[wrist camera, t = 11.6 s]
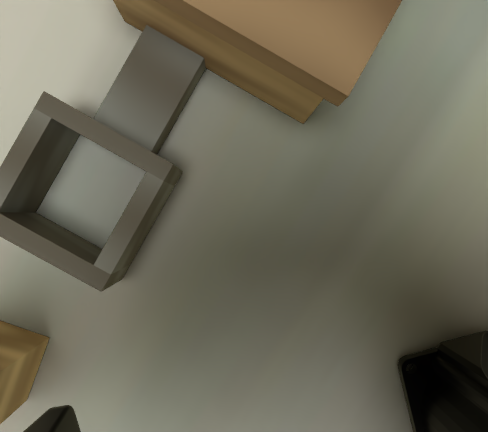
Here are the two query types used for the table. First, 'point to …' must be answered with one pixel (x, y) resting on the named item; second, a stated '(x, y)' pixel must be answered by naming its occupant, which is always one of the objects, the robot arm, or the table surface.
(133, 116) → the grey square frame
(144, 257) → the table surface
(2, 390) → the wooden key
